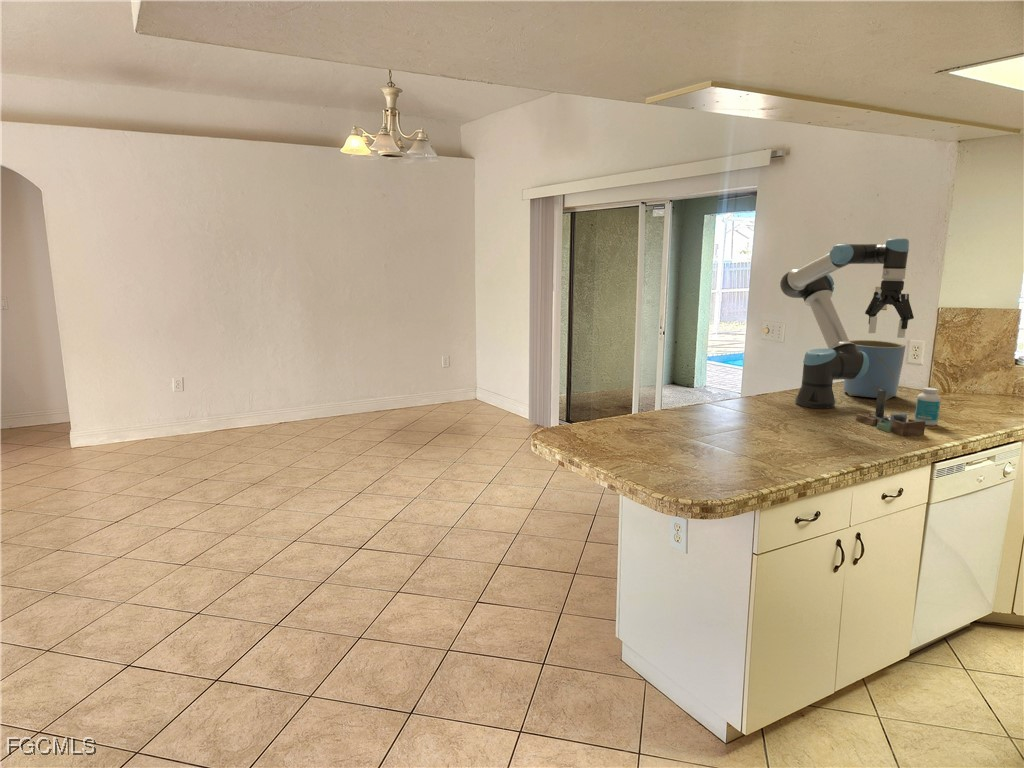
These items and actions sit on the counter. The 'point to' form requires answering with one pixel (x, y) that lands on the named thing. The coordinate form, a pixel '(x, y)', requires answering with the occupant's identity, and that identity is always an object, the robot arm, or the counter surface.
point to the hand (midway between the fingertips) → (885, 335)
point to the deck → (885, 426)
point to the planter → (878, 369)
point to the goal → (908, 427)
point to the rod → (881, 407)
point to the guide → (866, 418)
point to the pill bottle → (928, 406)
